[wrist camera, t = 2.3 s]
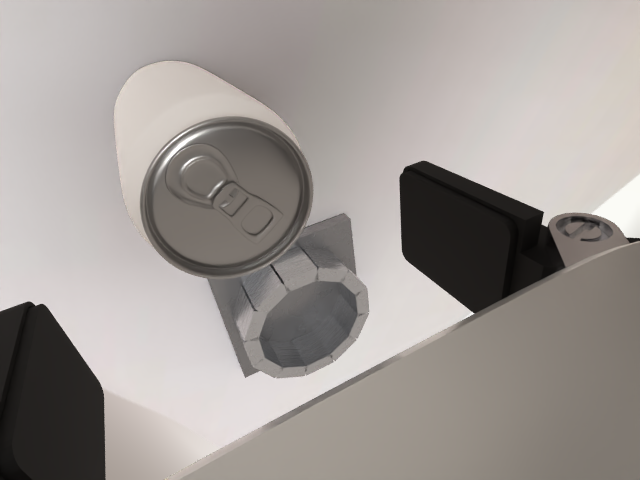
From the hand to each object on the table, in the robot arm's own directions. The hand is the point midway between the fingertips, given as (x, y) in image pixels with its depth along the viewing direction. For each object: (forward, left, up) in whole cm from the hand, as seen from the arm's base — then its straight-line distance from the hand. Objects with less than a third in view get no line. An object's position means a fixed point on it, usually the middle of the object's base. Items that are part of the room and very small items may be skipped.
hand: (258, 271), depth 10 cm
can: (0, 0, -15) cm, 15 cm away
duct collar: (-4, +15, -15) cm, 22 cm away
